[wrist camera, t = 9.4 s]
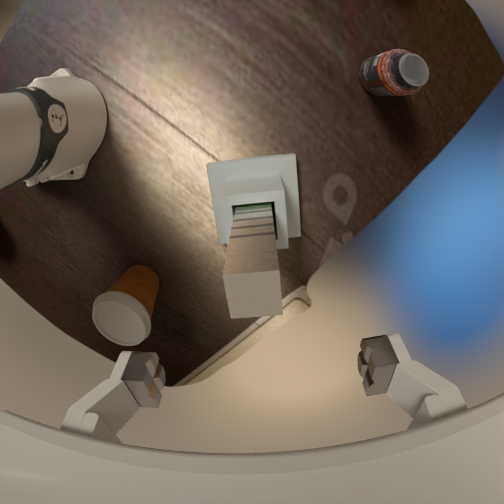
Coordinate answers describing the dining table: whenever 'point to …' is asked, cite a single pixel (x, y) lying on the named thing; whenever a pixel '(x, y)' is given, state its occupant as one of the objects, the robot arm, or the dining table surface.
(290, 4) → the dining table surface
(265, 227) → the column
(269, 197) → the stand base
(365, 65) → the supplement bottle
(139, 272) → the disposable coffee cup
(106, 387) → the robot arm
